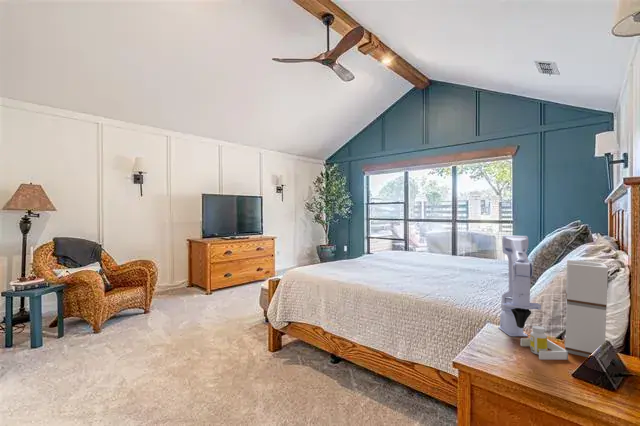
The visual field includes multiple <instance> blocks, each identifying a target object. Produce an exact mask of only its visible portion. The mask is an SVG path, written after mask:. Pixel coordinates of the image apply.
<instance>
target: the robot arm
mask: <svg viewBox="0 0 640 426" xmlns="http://www.w3.org/2000/svg"><path fill="white" fill-rule="evenodd" d="M501 238H502V239H501V240H502V241H501V243H502V244H501V246H502V247H501V248H502V253H503V254H505V255H506V256H507V259H508V264H507V265H508V290H507V291H505V292H503V293H502V294H501V301H500V309H501V313H500V317H499V318H500V319H499V326H497V328H498V329H499V330H501V331H503V333H505V334H506V335H508V336H509V337H528V334H527V333H525V332H524V327H525V325H526V323H527V320H528V318H529V317H530V316H531V314H532V310H540V311H541V309H542V304H540V303H538V302H531V279H532V277H533V275H534V274H533V273H534V269H533V264H532V262H531V261H529V257H528V254H527V253H528V252H527V251H528V248H529V237H528V236H527V235H512V234H511V235H509V234H507V235H506V234H503V235H502V237H501Z"/></svg>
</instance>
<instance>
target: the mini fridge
mask: <svg viewBox="0 0 640 426" xmlns="http://www.w3.org/2000/svg"><path fill="white" fill-rule="evenodd" d="M608 277H609V267H608V266H607V265H606V264H605V263H603V262H594V261H585V260H584V261H582V260H571V259H567V260H566V284H565V288H566V289H565V303H566V315H565V316H566V317H565V319H566V320H565V321H566V322H565V323H566V324H565V337H564V343H563V344H564V349H565V350H566V351H568V354H572V355H576V356H581V357H585V358H589V357H588V356H589V355H591V354H592V353H593V352H594V351H595V350H596V349H597V348H598V347H599V346H600V345H601V344H603V343H604V342H605V343H606V329H607V304H608V301H607V300H608Z"/></svg>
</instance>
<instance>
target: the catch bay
mask: <svg viewBox="0 0 640 426" xmlns="http://www.w3.org/2000/svg"><path fill="white" fill-rule="evenodd" d="M519 342H520V347H531V345H530V337H529V338H528V337H527V338H525V337H524V338H522V337H521V338H520V341H519ZM547 349H549V350H547V351H539V355H538V360H561V361H562V360H567V361H568V360H569V353H568V351H566V350H565V348H563V347H562V346H560V345H558V344H556V343H554V342H553V341H551V340H549V339H548V338H547Z"/></svg>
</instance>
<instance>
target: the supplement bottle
mask: <svg viewBox="0 0 640 426" xmlns="http://www.w3.org/2000/svg"><path fill="white" fill-rule="evenodd" d="M545 329H546V328H545V327H544V326H541V325H532V331H531V332H530V333H529V335H530V336H529V338H530V345H531V346H530V352H531V353H533V354H534V355H535V354H536V355H538V356H539V351H548V348H547V339H548V335H547V334H546V333H545V332H546V330H545Z"/></svg>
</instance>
